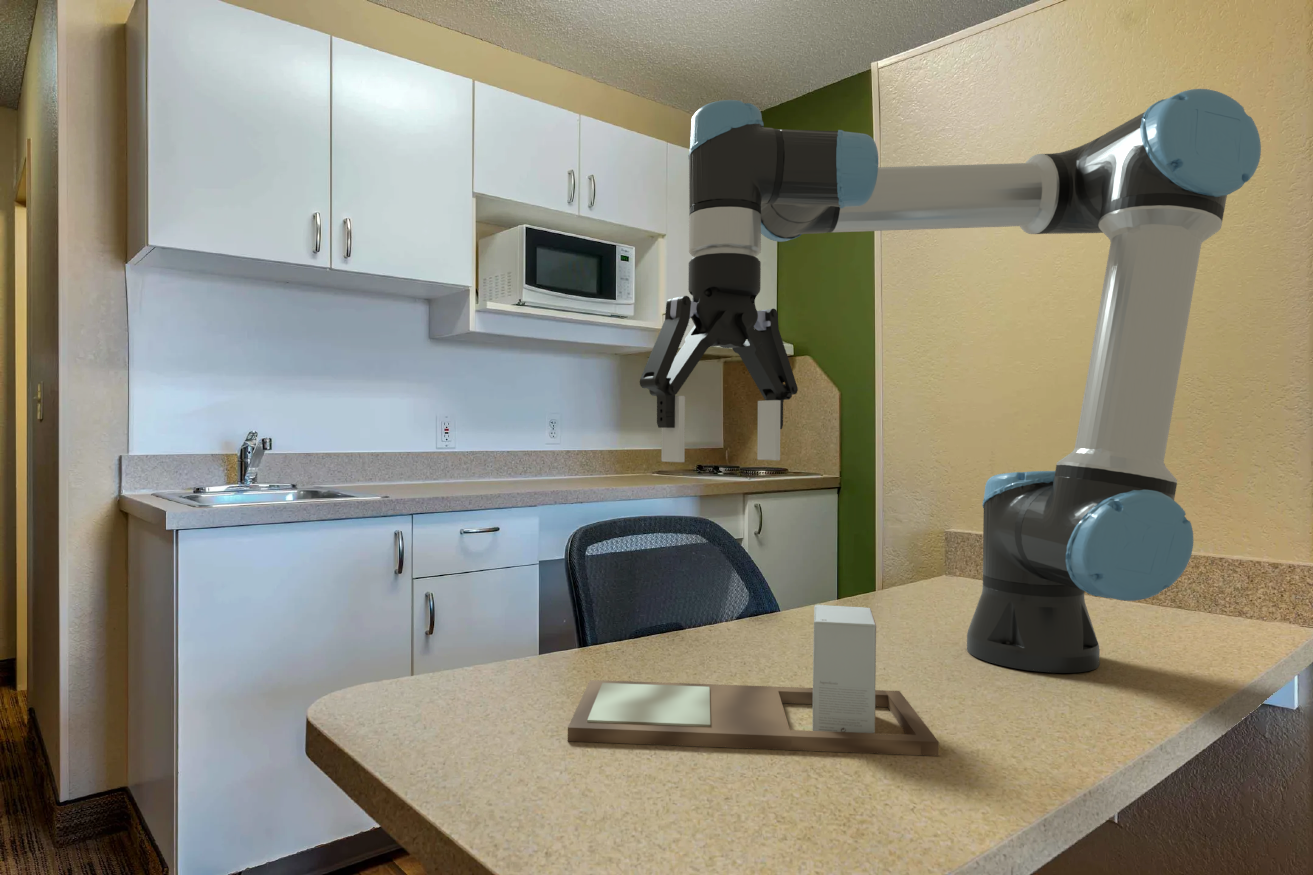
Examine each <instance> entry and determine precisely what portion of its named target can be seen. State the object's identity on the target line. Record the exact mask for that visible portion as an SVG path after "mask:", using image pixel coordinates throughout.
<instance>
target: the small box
mask: <svg viewBox="0 0 1313 875" xmlns="http://www.w3.org/2000/svg"><path fill="white" fill-rule="evenodd" d="M813 613H814V614H813V646H812V647H813V652H812V657H813V658H812V688H813V704H812V731H830V732H856V733H876V706H875V690H876V677H877V675H876V672H877V671H876V670H877V669H876V668H877V667H876V666H877V664H876V662H877V660H876V658H877V657H876V656H877V624H876V620H875V618H874V615H873V612H872V609H871V608H870V607H862V606H843V605H825V604H815V605H814V607H813Z"/></svg>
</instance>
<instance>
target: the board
mask: <svg viewBox="0 0 1313 875" xmlns="http://www.w3.org/2000/svg"><path fill="white" fill-rule="evenodd" d="M783 704H794V705H795V704H797V705H801V704H802V705H813V687H797V686H796V687H795V686H794V687H793V686H773V685H772V686H770V685H769V686H767V685H764V686H763V685H744V684H743V685H741V684H740V685H739V684H719V683H717V684H713V683H688V682H687V683H684V682H683V683H682V682H660V681H658V682H657V681H633V680H632V681H631V680H630V681H629V680H625V681H624V680H606V679H605V680H603V679H602V680H601V679H600V680H599V679H589V681H588V683H587V686H586V687H585V689H584V691H583V694H582V696H581V699H580V700H579V702H578V705H577V706H576V709H575V711H574V713H573V715H572V717H571V720H570V722H569V724H568V725H567V742H578V743H579V742H580V743H583V742H584V743H603V744H604V743H607V744H608V743H609V744H610V743H611V744H629V745H630V744H632V745H636V744H637V745H652V746H653V745H656V746H657V745H658V746H679V747H680V746H682V747H704V748H705V747H706V748H731V749H732V748H733V749H752V750H753V749H758V750H759V749H760V750H779V751H781V750H782V751H804V752H805V751H807V752H831V753H832V752H833V753H853V754H855V753H856V754H857V753H858V754H859V753H860V754H878V755H880V754H881V755H884V754H885V755H903V756H905V755H908V756H909V755H910V756H929V757H931V756H932V757H934V756H935V757H939V756H940V755H939V753H940V752H939V751H940V747H939V746H940V745H939V744H940V742H939V740H938V739H937V738H936V736H935V735H934V734H933V733H932V731H931V730H930V729H929V727H928V726H927V725H926V723H925V722H924V720H922V718H921V716H919V713H917V712H916V710H915V709H914V707H913V706H912V705H911V704H910V702H909V701H908V700H907V698H906V697H905V696H904V695H903V693H902V692H901V690H882V689H881V690H878V689H875V708H876V707H877V708H878V707H880V708H883V707H884V708H885V707H886V708H888V709H889V711H890V712H891V714H892V715H893V717H894V718H895V720H896V721H897V722H898V724H899V725H900V727H901V729H902V730H903V731H904V733H905V734H903V733H901V734H900V733H876V732H875V733H856V732H830V731H813V730H799V729H790V726H789V723H788V719H787V715H786V713H785V712H786V711H785V709H784V706H783Z"/></svg>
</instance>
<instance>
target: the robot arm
mask: <svg viewBox="0 0 1313 875" xmlns="http://www.w3.org/2000/svg"><path fill="white" fill-rule="evenodd" d="M762 115H763V114H762V112H761V110H760V109H759V108H758V107H757V106H756V105H755V104H753V103H751V102H750V103H749V102H746V103H745V102H743V101H742V100H736V99H724V100H723V99H722V100H718V101H717V100H716V101H713V102H709V103H707V104H704V105H703V106H701V107H700V108H698V110H696V112H695V113H694V114H693V116H692V117H691V120H690V138H689V139H690V140H689V154H688V173H689V174H688V175H689V176H688V178H689V179H688V189H689V190H688V191H689V192H688V193H689V194H688V195H689V196H688V197H689V198H688V200H689V204H688V206H689V207H688V208H689V211H688V213H689V215H688V216H689V217H688V219H689V220H688V252H689V254H690V255H691V256H692V258H691V259H690V261H689V262H688V289H687V290H688V292H689V294H690V295H691V296H692V299H691V298H690V297H689V295H682V296H681V295H680V296H677V297H673V298H669V299H667V300H666V305H665V315H664V321H663V323H662V326H661V329H660V331H659V333H658V335H657V337H656V339H655V342H654V345H653V347H652V350H651V352H650V354H649V357H648V360H647V363H646V365H645V367H644V369H643V371H642V373H641V377H640V379H639V385H640V387H641V388H642V389H648V390H649V394H650V396H652V397H656V425H657V427H658V428H659V429H661V462H665V463H666V462H668V463H685V460H686V459H685V457H686V456H685V453H686V452H685V449H686V448H685V447H686V446H685V445H686V444H685V443H686V442H685V438H686V434H685V433H686V432H685V431H686V428H685V426H686V425H685V424H686V419H685V418H686V396H685V395H677V394H678V393H679V392H680V390H681V389H682V387H683V385H684V384H685V382H686V381H687V380H688V379H689V377H690V375H691V373H692V372H693V370H694V369H695V368H696V366H697V365H698V363H699V362H700V361H701V359H702V357H703V356H704V354H705V353H706V351H707V350H708V349H709V348H711V347H720V348H722V349H731V350H732V351H733V352H734V353H736V354H737V355H739V357H740V358H741V361H742V362H743V364H744V366H745V367H746V369H747V371H748V373H749V375H750V376H751V378H752V379H753V382H754V383H755V385H756V387H757V389H758V390H759V392H760V393H761V396H762V397H763V399H764V400H757V451H756V452H757V454H756V455H757V456H756V457H757V458H756V460H761V461H780V460H781V430H782V429H783V426H784V402H785V400H786V401H789V400H791V399H792V396H793V395H796V394H797V393H798V391H799V390H798V389H799V387H798V383H797V382H796V381H797V380H796V379H795V376H794V373H793V372H794V371H793V369H792V366H791V362H790V360H789V357H788V354H787V350H786V347H785V344H784V342H783V338H782V336H781V332H780V329H779V314H778V311H777V309H776V308H768V309H761V310H757V307H756V298H757V296H758V295H759V293H760V292H761V279H762V278H761V270H762V269H761V268H762V267H761V265H762V262H761V260H759V258H757V257H758V256H759V255H760V254H761V251H762V236H764V237H765V238H767V239H769V240H771V241H774V242H778V243H779V242H780V243H783V242H787V241H790V240H794V239H797V238H799V237H801V235H805V234H806V235H807V234H826V233H827V234H828V233H849V232H851V233H854V232H882V231H883V232H884V231H885V232H888V231H909V230H911V231H913V230H915V231H916V230H917V231H918V230H945V229H946V230H947V229H973V228H974V229H976V228H980V229H981V228H1006V227H1007V228H1008V227H1020V229H1021V230H1022V231H1023V232H1025V234H1029V235H1044V234H1045V235H1047V234H1048V235H1053V234H1055V235H1056V234H1057V235H1058V234H1060V235H1061V234H1063V235H1064V234H1066V235H1067V234H1070V235H1071V234H1072V235H1073V234H1104V235H1105V237H1107V238H1108V240H1109V242H1110V245H1109V250H1108V256H1107V261H1106V267H1105V273H1104V279H1103V284H1102V290H1101V294H1100V295H1101V296H1100V301H1099V307H1098V314H1097V319H1096V325H1095V330H1094V336H1093V340H1092V347H1091V353H1090V358H1089V365H1088V368H1087V369H1088V370H1087V376H1086V381H1085V387H1084V392H1083V397H1082V398H1083V399H1082V404H1081V410H1080V416H1079V421H1078V427H1077V431H1076V432H1077V434H1076V439H1075V444H1074V449H1073V450H1072V452H1070V453H1069V454H1067V455H1065V457H1063V458H1061V459H1059V461H1057V462H1056V465H1055V470H1037V471H1036V470H1035V471H1034V470H1032V471H1022V472H1021V471H1017V472H1015V471H1014V472H1006V473H998V474H994V475H993V476H991V477H989V478H988V480H987V481H986V482H985V488H984V494H983V500H982V508H983V530H982V533H983V534H982V536H983V538H982V540H983V541H982V543H983V544H982V590H981V594H980V598H979V600H978V602H977V606H976V608H975V611H974V612H973V613H974V614H973V616H972V619H971V622H970V623H969V627H968V629H967V632H966V633H967V634H966V651H967V652H968V654H970V655H971V656H973V657H975V658H977V659H980V660H983V661H985V662H988V663H990V664H991V663H992V664H994V665H999V666H1002V667H1007V668H1012V669H1018V670H1022V671H1023V670H1024V671H1030V672H1039V673H1040V672H1041V673H1055V674H1057V673H1058V674H1075V673H1085V672H1089V671H1094V670H1095V669H1097V668H1099V667H1100V650H1101V649H1100V643H1099V641H1098V638H1097V636H1096V632H1095V629H1094V626H1093V622H1092V620H1091V617H1090V614H1089V610H1088V608H1087V605H1086V600H1085V593H1087V594H1088V595H1090V596H1094V597H1100V598H1104V599H1114V600H1116V601H1117V600H1118V601H1125V602H1126V601H1127V602H1129V601H1130V602H1132V601H1133V602H1134V601H1142V600H1147V599H1149V598H1152V597H1154V596H1155V597H1156V596H1157V595H1159V594H1160V593H1161V592H1163V591H1164V590H1165V589H1167V588H1170V587H1171V586H1172V585H1174V583H1176V582H1177V581H1178V580H1179V578H1180V577H1181V575H1183V573H1184V572H1185V570H1186V568H1187V567H1188V565H1189V562H1190V559H1191V557H1192V555H1193V554H1192V553H1193V549H1194V541H1195V540H1194V531H1193V525H1192V523H1191V521H1190V520H1189V519H1187V517H1186V514H1187V513H1186V511H1185V510H1184V508H1183V507H1182V506H1181V505H1180V504H1179V503H1178V502H1177V501H1175V498H1176V493H1177V492H1176V491H1177V486H1178V479H1177V478H1176V477H1175V476H1174V474H1173V473H1172V472H1171V471H1170V470H1169V468H1168V467H1167V466H1166V463H1165V456H1166V451H1167V443H1168V439H1169V434H1170V427H1171V422H1172V418H1173V417H1172V416H1173V410H1174V404H1175V400H1176V393H1177V387H1178V382H1179V375H1180V370H1181V364H1182V358H1183V352H1184V346H1185V342H1186V334H1187V329H1188V323H1189V317H1190V312H1191V306H1192V301H1193V294H1194V289H1195V288H1194V287H1195V282H1196V277H1197V270H1198V266H1199V265H1198V264H1199V259H1200V254H1201V248H1202V244H1203V243H1204V242H1205V241H1207V240H1208V239H1210V238H1211V237H1212V236H1214V235H1215V234H1217V233H1218V232H1219V231H1221V229H1222V225H1223V220H1224V219H1223V218H1224V215H1225V214H1224V212H1225V209H1226V202H1227V197H1228V195H1231V194H1232V193H1234V192H1236V191H1238V190H1239V189H1241V188H1243V186H1244V185H1245V183H1247V182H1249V181H1250V180H1251V179H1252V177H1253V176H1254V175H1255V173H1256V171H1257V169H1258V167H1259V163H1260V160H1261V152H1262V144H1261V136H1260V133H1259V131H1258V128H1257V126H1256V124H1255V121H1254V120H1253V118H1252V117H1251V115H1249V114H1247V113H1246V111H1245V108H1244V106H1242V104H1240V103H1239V102H1238V101H1237V100H1235V99H1234V98H1232V97H1231V96H1230V95H1227V94H1225V93H1223V92H1220V91H1217V90H1213V89H1210V88H1209V89H1208V88H1192V89H1187V90H1183V91H1181V92H1178V93H1176V94H1174V95H1172V96H1170V97H1168V98H1165V99H1160V100H1158V101H1156V102H1155V103H1153V104H1151V105H1150V106H1149V107H1148V108H1147V109H1146V110H1145V111H1143V112H1142V113H1140V114H1138V115H1137V116H1135V117H1133V118H1131V119H1129V120H1128V121H1125V122H1124V123H1122V124H1120V125H1119V126H1117V127H1114V128H1113V129H1111V130H1110V131H1108V132H1106V133H1105V134H1102V135H1101V136H1099V137H1096V138H1095V139H1093V140H1091V141H1089V142H1087V143H1085V144H1082V145H1080V146H1078V147H1077V146H1076V147H1075V148H1071V149H1069V150H1065V151H1061V152H1056V153H1055V152H1054V153H1039V154H1034V155H1032V156H1031V157H1029V159H1027V160H1026V161H1025V162H1020V163H1016V162H1014V163H989V164H988V163H986V164H985V163H984V164H982V163H980V164H978V163H977V164H952V165H951V164H948V165H947V164H945V165H916V166H915V165H913V166H909V165H907V166H881V167H880V166H879V151H878V147H877V144H876V141H875V140H874V138H873V137H872V136H870V135H869V134H867V133H862V132H861V133H860V132H853V131H844V130H843V129H838V130H812V129H807V130H806V129H778V128H773V127H764V121H763V118H762V117H763V116H762ZM690 320H691V321H692V323H693V326H692V328H691V329H690V330H689V332H688V334H686V336H685V333H686V331H687V328H688V326H689V322H690ZM684 336H685V338H684ZM683 338H684V341H685V342H684V344H683V345H682V346H681V348H680V345H681V342H682V341H683ZM679 348H680V349H679ZM678 350H679V351H678Z"/></svg>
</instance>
